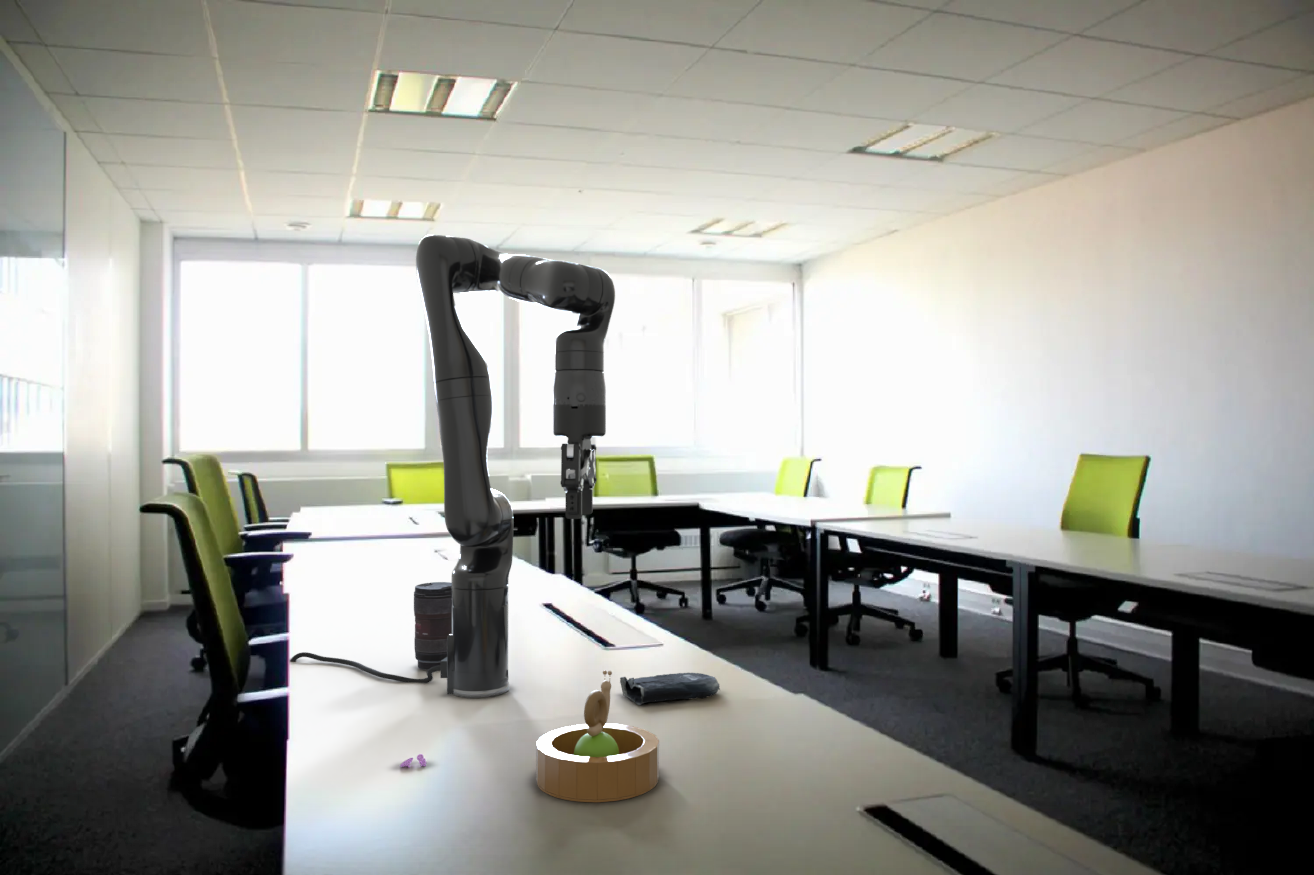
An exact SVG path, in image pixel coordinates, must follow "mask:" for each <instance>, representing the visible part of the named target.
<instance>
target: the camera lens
mask: <svg viewBox="0 0 1314 875" xmlns="http://www.w3.org/2000/svg"><path fill="white" fill-rule="evenodd" d="M451 604H452V582H451V581H450V582H449V581H435V582H432V581H431V582H425V583H420V584H416V585H415V586H414V591H413V615H414V658H415V660H416V661H417V668H418V669H420V670H423V671H428V670H429V669H430V668H431V667H434V666H439V665H440V661H441V660H443V659H444V658H446V657H447V637H448V635H449V634H451V618H452V605H451Z"/></svg>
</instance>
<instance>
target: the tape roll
mask: <svg viewBox="0 0 1314 875" xmlns="http://www.w3.org/2000/svg"><path fill="white" fill-rule="evenodd" d="M588 728H589V727H588V726H587V724H586V723H582V724H576V725H575V724H574V725H571V726H570V725H569V726H564V727H560V728H557V729H554V730H551V731H548V732H547V733H545V734H543V735H540V737H539V738H538V740H537V741H536V742H535V780H536V785H537V787H538V789H539V790H540V791H541V792H542V793H545V794H546V795H548V796H551V797H554V798H557V799H561V800H565V801H571V802H577V803H607V802H608V803H609V802H616V801H624V800H628V799H632V798H636V797H639V796H641V795H644V794H647V793H648V792H650V791H651V790H652V789H654V788H655V787H656V786H657V785H658V782H659V777H660V739H658V737H657V735H656V734H655V733H652V731H651V732H650V731H649V730H647V729H645V728H640V727H637V726H634V725H628V724H619V723H606V724H605V726H604V728H603V730H602V732H605V733H607V734H609V735H610V736H611V737H612V738H613V739H614V740H615V742H616V743H617V746H618V749H619V755H616V756H606V757H581V756H574V750H575V746H576V744H577V742H578V741H579V740H580V738H581V737H582V736H584V735H585V734H587V729H588Z"/></svg>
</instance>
